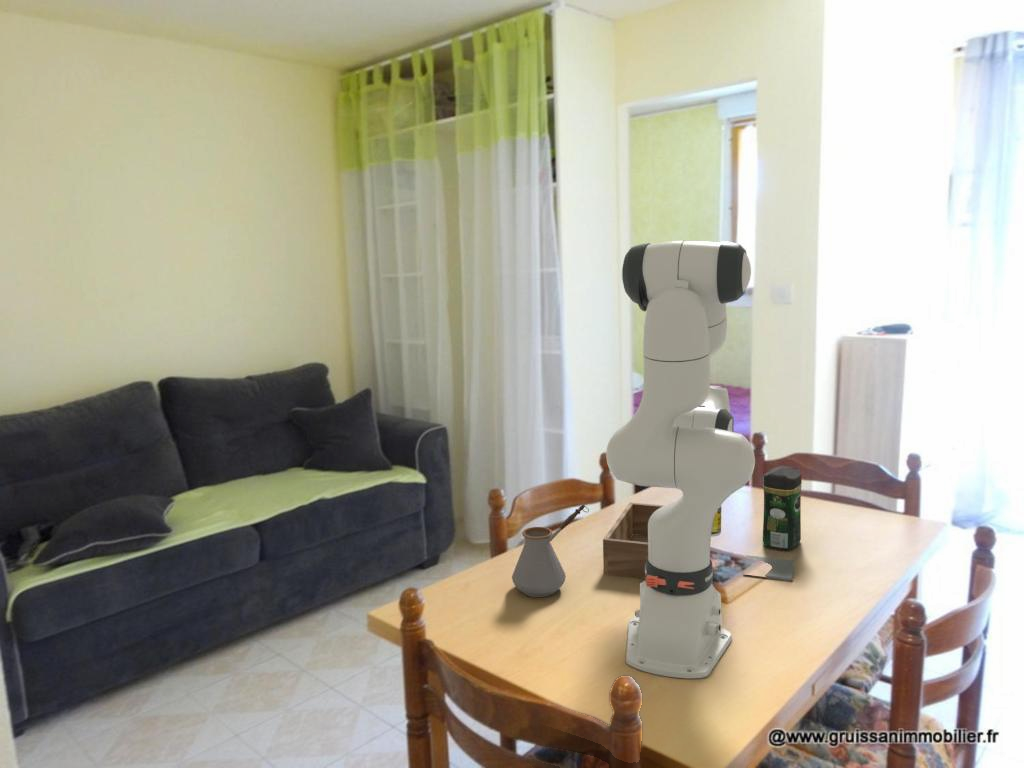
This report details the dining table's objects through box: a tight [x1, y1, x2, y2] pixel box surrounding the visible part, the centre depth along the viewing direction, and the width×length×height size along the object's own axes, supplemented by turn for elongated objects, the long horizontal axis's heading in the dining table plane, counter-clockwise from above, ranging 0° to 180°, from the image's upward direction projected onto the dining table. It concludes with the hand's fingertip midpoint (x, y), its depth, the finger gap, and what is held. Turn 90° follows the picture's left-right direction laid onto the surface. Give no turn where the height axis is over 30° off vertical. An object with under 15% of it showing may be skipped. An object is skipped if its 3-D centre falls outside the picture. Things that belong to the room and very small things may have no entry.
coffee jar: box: [762, 465, 802, 551], centre depth 174 cm, size 10×8×19 cm
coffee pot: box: [511, 504, 590, 598], centre depth 158 cm, size 21×12×15 cm, turn 133°
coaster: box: [746, 555, 794, 582], centre depth 161 cm, size 10×10×1 cm
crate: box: [602, 502, 665, 580], centre depth 171 cm, size 26×14×8 cm, turn 158°
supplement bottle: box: [711, 505, 722, 538], centre depth 164 cm, size 5×5×10 cm
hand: (708, 516), depth 164 cm, fingers closed on supplement bottle, 5 cm apart
